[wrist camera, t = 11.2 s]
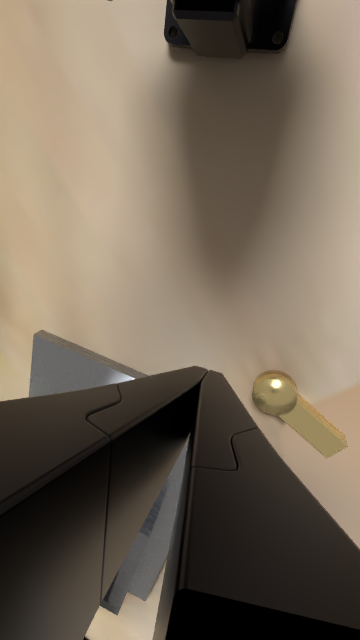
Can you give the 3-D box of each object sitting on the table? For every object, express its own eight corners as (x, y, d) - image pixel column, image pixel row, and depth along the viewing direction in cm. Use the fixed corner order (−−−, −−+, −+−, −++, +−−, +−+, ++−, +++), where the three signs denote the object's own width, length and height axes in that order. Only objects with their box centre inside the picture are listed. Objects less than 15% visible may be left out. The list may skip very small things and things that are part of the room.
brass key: (245, 386, 24) (244, 395, 22) (274, 363, 22) (274, 371, 21) (318, 450, 24) (320, 462, 23) (351, 430, 22) (355, 442, 21)
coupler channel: (41, 329, 27) (6, 349, 24) (233, 412, 25) (225, 449, 21) (24, 523, 40) (-1, 555, 37) (148, 591, 38) (134, 632, 34)
